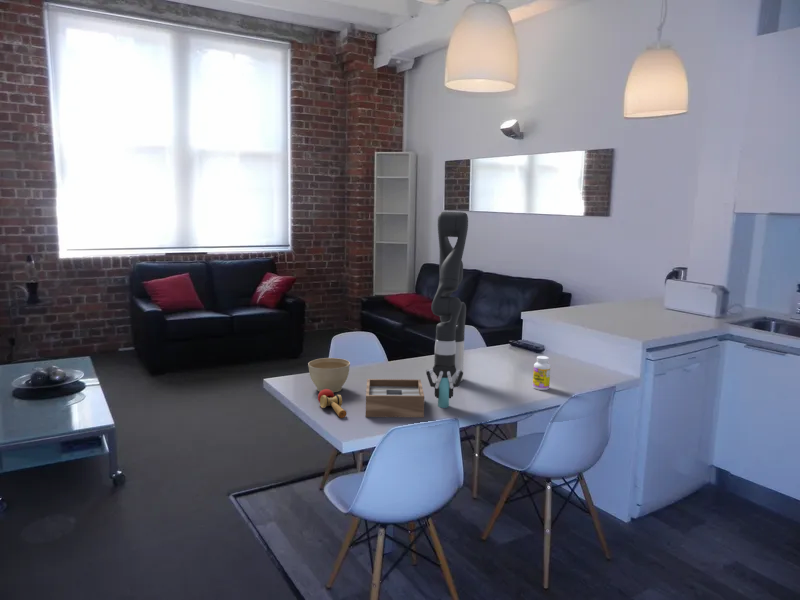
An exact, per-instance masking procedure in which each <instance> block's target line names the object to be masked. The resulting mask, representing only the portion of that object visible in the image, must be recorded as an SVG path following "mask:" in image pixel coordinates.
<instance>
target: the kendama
mask: <svg viewBox="0 0 800 600" xmlns="http://www.w3.org/2000/svg"><path fill="white" fill-rule="evenodd" d="M334 393H335V392H334ZM334 393H333V392H332V391H331V390H329V389H324V390H322V391H320V392H319V393H318V395H317V400H318V403H319V405H320V408H322V409H325V408H326V407H332V410H333V411H334V412H335V413H336V415H337V416H338V418H339V419H343V418H346V417H347V411H346V410H345V409H344V408H342V405H343V397H342V395H341V394H334Z"/></svg>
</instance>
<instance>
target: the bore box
mask: <svg viewBox="0 0 800 600" xmlns="http://www.w3.org/2000/svg"><path fill="white" fill-rule="evenodd" d="M424 417H425V393H424V389H423V385H422V380H421V379H414V378H413V379H412V378H411V379H406V378H405V379H403V378H401V379H400V378H397V379H396V378H395V379H394V378H393V379H392V378H391V379H390V378H366V391H365V418H424Z"/></svg>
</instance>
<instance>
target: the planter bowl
mask: <svg viewBox="0 0 800 600" xmlns="http://www.w3.org/2000/svg"><path fill="white" fill-rule="evenodd" d="M307 364H308V365H307V367H308V371H309V376H310V380H311V382H312V383H313V384H314V386H315V387H316V390H317V392H319V393H320V391H322V390H324V389H329V390H331V391H332V392H333V393H337V392H340V391H342V389H343V386H344V384H345V383H346V381H347V379H348V376H349V374H350V373H349V372H350V366H351V362H350V361H349V360H347V359H344V358H338V357H324V358H323V357H322V358H317V359H313V360H311V361H309V362H308V363H307Z"/></svg>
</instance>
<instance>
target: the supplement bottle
mask: <svg viewBox="0 0 800 600" xmlns="http://www.w3.org/2000/svg"><path fill="white" fill-rule="evenodd" d="M549 361H550V357H548V356H546V355H538V356H536V362H535V363H534V364H533V375H532V388H533V389H535V390H539V391H546V390H549V389H550V379H551V368H552V367H551V366H552V365H551V364H550V362H549Z"/></svg>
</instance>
